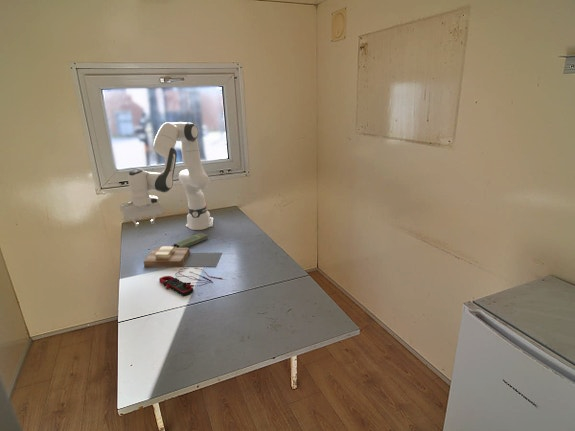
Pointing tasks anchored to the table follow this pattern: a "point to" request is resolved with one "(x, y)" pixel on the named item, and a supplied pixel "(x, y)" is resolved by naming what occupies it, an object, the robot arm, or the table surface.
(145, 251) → the table surface
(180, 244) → the handheld radio
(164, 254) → the tile
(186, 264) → the mat
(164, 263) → the platform
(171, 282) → the digital clamp meter
